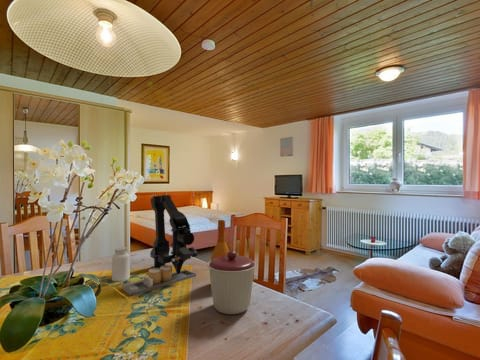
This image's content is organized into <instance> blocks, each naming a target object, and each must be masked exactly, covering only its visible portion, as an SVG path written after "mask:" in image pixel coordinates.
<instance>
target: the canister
mask: <svg viewBox="0 0 480 360" xmlns="http://www.w3.org/2000/svg"><path fill="white" fill-rule="evenodd" d="M256 266H257V263H256V262H255V261H254V260H253V259H251V258H249V257H247V256H243V255H238V254H237V252H236V251H235V250H229V252H228V253H227V256H220V257H217V258H214V259H213V260H211V259H210V261H208V262H207V267H208V269H209V278H210V290H211V297H212V303H213V306H214V308H215V309H216V310H217V311H218V312H219V313H221V314H224V315H238V314H241V313H244V312H245V311H247V309H248V308H249V306H250V304H251V298H252V290H253V284H254V283H253V282H254V274H255V268H256Z"/></svg>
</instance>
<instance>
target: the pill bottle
mask: <svg viewBox="0 0 480 360" xmlns="http://www.w3.org/2000/svg"><path fill="white" fill-rule="evenodd" d="M114 253H115V254H113V255H112V257H111V280H112V281H113V282H124V281H127V280H129V279H130V275H131V255H130V253H128V248H127V247H125V246H122V247H121V246H120V247H116V248H114Z"/></svg>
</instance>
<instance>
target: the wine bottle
mask: <svg viewBox="0 0 480 360" xmlns="http://www.w3.org/2000/svg"><path fill="white" fill-rule="evenodd" d="M217 230H218V237H217V241H216V245H215V246H214V249H213V252H212V254H211V258H210V261H211V260H213V259H214V258H217V257H220V256H227V253H228V252H229V251H230V249H229V246H228V245H227V241H226V236H225V234H226V233H225V231H226V220H225V219H219V220H218V221H217Z"/></svg>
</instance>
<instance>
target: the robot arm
mask: <svg viewBox="0 0 480 360" xmlns="http://www.w3.org/2000/svg"><path fill="white" fill-rule="evenodd" d="M150 204H151V208H152V210H153V212H154V217H155V218H154V219H155V220H154V221H155V240H154V241H153V245H152V248H151V250H150V254H149V256H150V258H152V259H153V265H152V266H151V268H150V269H152V268H160V267H161V266H165V265H167V264H170V263H172V265H173V267H174V269H175V272H177V274H179V273H180V271H182V267H183V265H184V263H185V262H186V261H187V260H190V259H192V258H196V257H198V251H197V250H196V249H195V247H187V246H190V245H192V244H193V243H194V241H195V235H194V234H193V233H192V232H191V224H190V222H189V220H188V218H187V216H186V215H185V214H184V213H183V212H181V211H180V210H178V208H177V207H176V205H175V203H174V201H173V200H172V197H171V195H169V194H161V195H153V196H152V197H151V198H150ZM165 210H166V213H167V214H168V216H169V220H168V221H169V225H170V227H171V230H170V231H171V232H172V240H171V241H172V242H171V243H170V241H169V240H168V239H167V238H166V228H165V227H166V225H165ZM170 246H172V248H171V247H170ZM170 249H172V250H171V251H170Z"/></svg>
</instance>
